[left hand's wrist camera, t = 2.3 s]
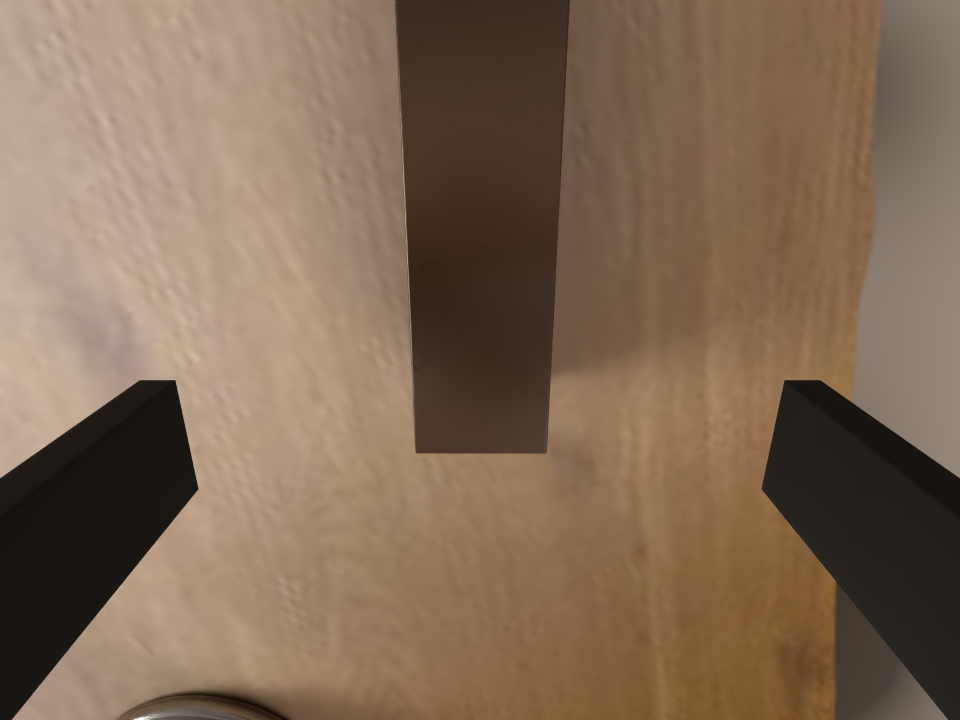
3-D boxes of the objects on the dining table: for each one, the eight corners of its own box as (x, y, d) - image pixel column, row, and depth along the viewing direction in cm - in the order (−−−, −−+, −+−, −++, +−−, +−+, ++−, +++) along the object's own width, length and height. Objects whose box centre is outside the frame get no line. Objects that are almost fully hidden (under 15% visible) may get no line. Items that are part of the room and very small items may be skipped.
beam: (531, 381, 28) (546, 454, 21) (430, 380, 28) (415, 453, 21) (565, -527, 17) (617, -938, 11) (400, -527, 17) (351, -938, 11)
